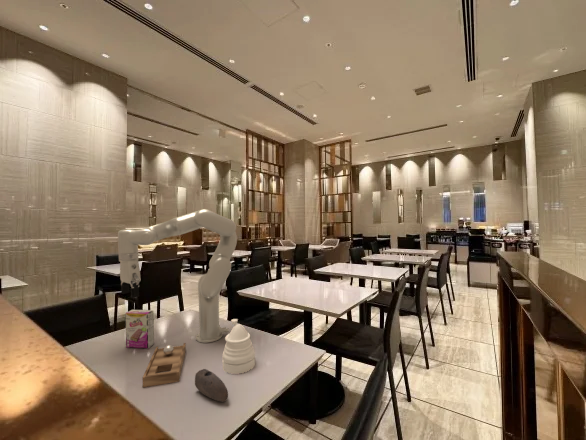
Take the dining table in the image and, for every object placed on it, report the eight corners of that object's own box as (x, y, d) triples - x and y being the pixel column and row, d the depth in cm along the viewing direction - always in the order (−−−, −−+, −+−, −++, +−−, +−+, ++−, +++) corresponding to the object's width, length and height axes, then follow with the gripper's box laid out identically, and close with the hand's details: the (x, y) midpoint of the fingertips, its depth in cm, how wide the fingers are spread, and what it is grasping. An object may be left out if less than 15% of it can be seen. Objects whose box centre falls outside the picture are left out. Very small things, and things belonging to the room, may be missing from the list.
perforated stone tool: (233, 401, 90) (233, 380, 90) (220, 410, 86) (219, 388, 86) (206, 384, 100) (206, 365, 99) (193, 391, 96) (192, 371, 95)
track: (156, 354, 121) (156, 346, 121) (185, 350, 124) (185, 342, 124) (142, 387, 98) (142, 377, 98) (179, 381, 101) (178, 372, 101)
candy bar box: (125, 348, 127) (124, 312, 127) (132, 343, 132) (131, 309, 132) (148, 349, 126) (147, 313, 126) (154, 344, 131) (153, 309, 131)
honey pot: (215, 369, 109) (214, 323, 109) (236, 354, 121) (235, 313, 120) (241, 377, 103) (240, 329, 103) (261, 361, 115) (260, 318, 114)
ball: (174, 351, 118) (174, 342, 118) (173, 356, 115) (172, 346, 114) (164, 353, 117) (164, 343, 117) (162, 357, 113) (162, 348, 113)
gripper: (146, 257, 121) (148, 296, 122) (129, 254, 132) (130, 290, 132) (128, 259, 115) (129, 300, 116) (111, 256, 126) (113, 294, 126)
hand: (130, 295), depth 124 cm, fingers open, 9 cm apart
